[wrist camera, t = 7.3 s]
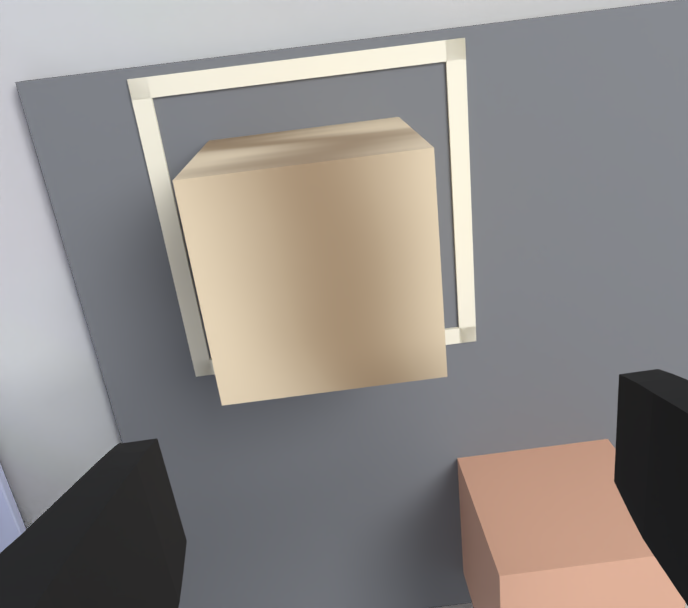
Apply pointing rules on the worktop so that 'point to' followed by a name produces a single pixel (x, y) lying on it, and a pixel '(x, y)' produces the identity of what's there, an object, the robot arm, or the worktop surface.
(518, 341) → the build mat
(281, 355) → the maple block
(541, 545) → the terracotta block
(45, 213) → the worktop surface
